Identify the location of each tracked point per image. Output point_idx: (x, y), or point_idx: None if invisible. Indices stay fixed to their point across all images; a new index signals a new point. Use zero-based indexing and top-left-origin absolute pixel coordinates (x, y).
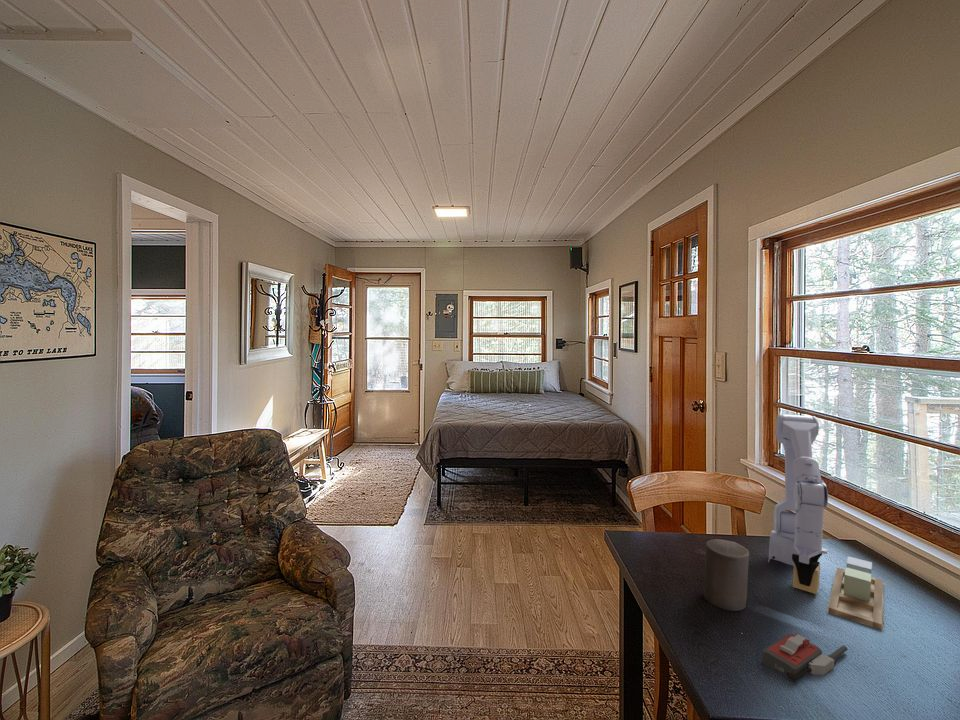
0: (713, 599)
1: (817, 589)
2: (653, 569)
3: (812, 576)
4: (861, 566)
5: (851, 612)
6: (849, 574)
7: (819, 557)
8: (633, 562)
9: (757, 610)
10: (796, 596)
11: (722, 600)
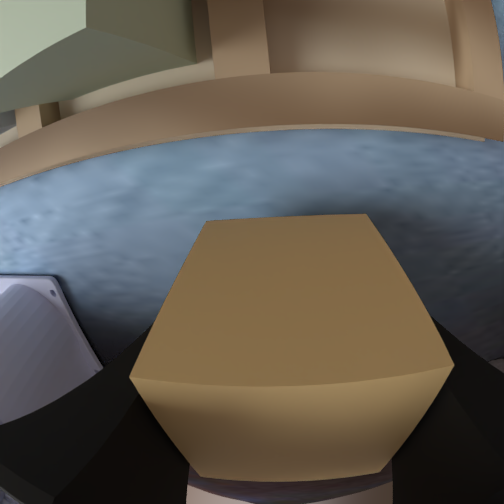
0: None
1: (317, 222)
2: (386, 473)
3: (454, 338)
4: None
5: (472, 19)
6: (40, 6)
7: (93, 457)
8: (374, 484)
9: (500, 338)
10: None
11: None
